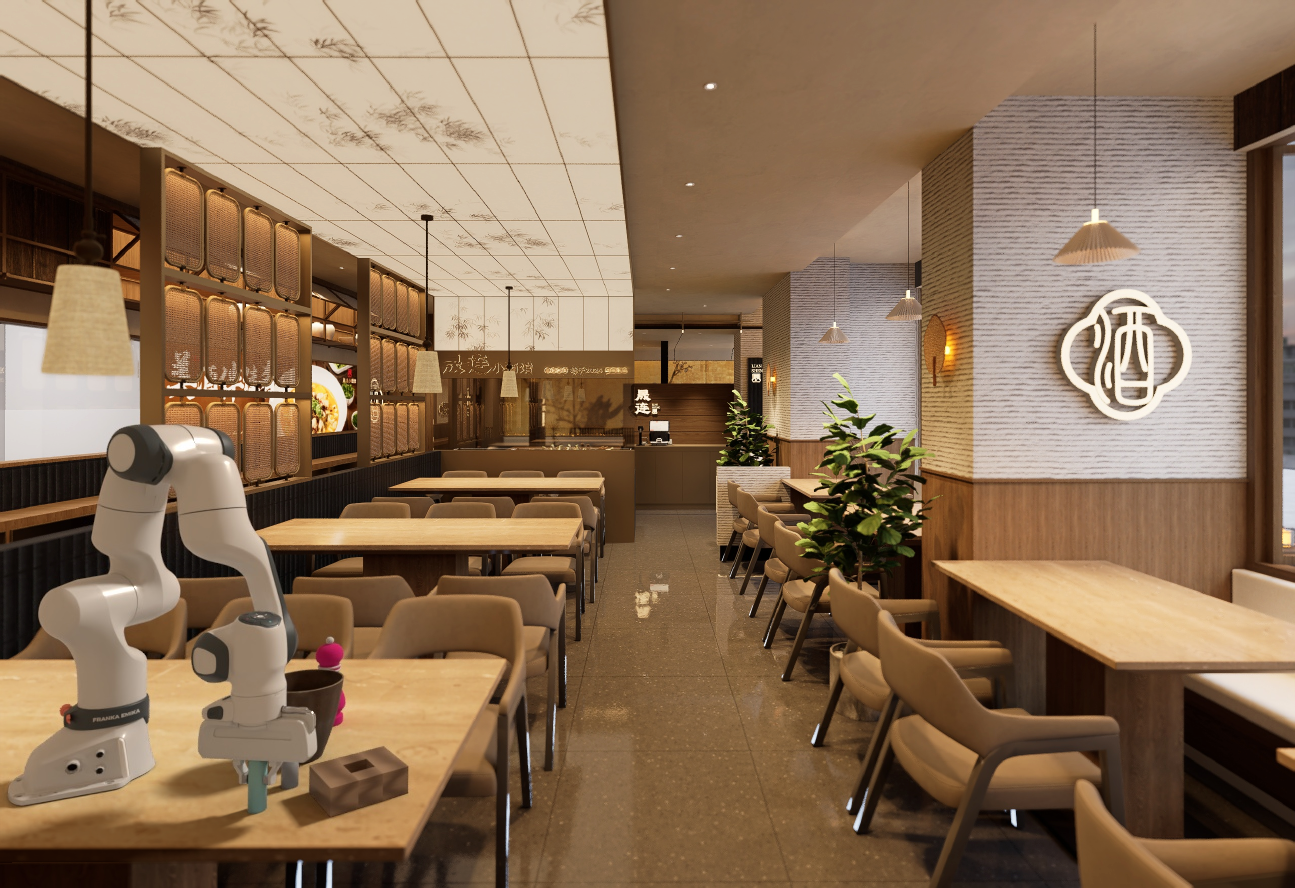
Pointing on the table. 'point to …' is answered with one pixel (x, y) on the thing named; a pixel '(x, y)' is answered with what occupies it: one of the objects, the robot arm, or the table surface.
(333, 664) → the pepper mill
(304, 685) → the plant pot
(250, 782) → the teal dowel
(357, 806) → the walnut block
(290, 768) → the charcoal dowel
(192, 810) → the table surface
